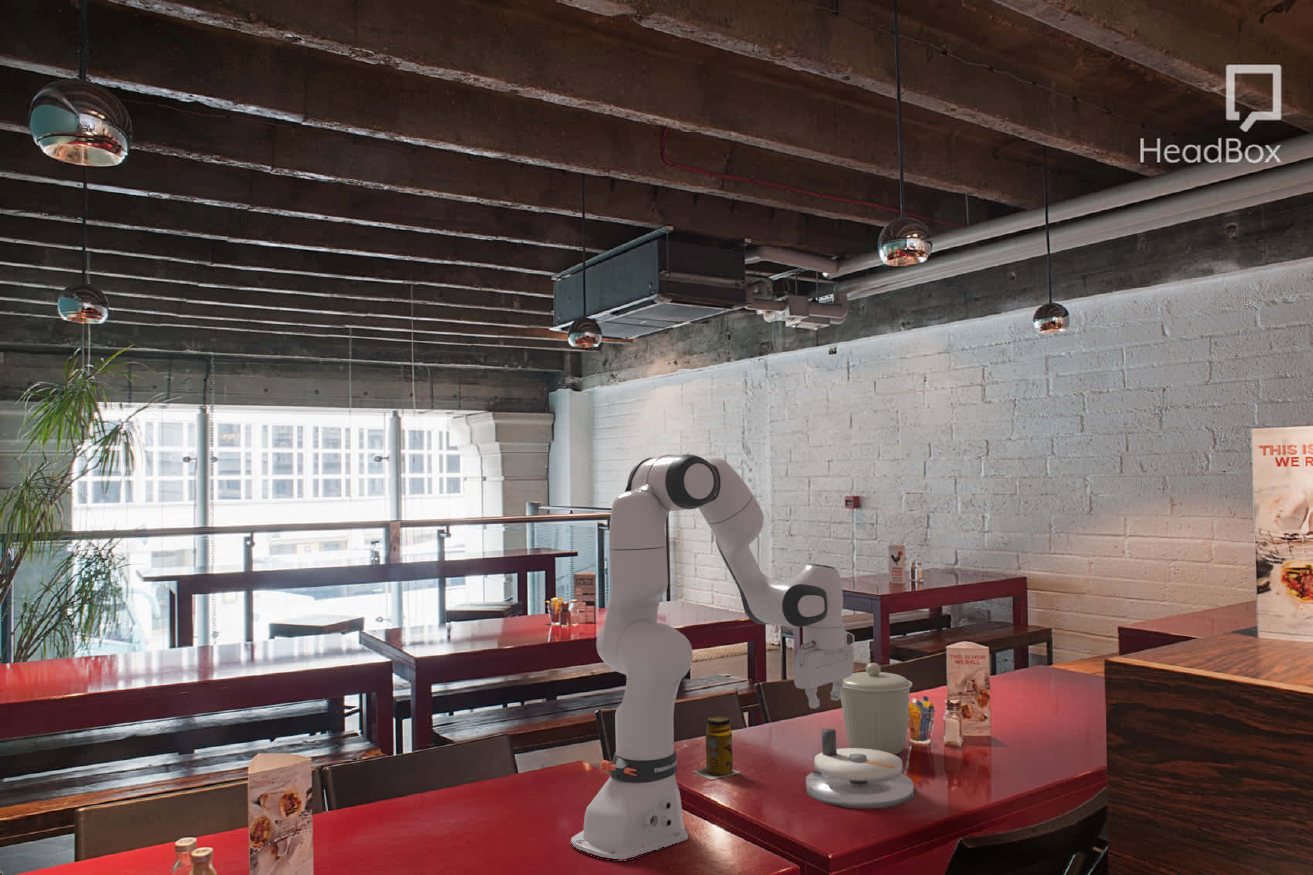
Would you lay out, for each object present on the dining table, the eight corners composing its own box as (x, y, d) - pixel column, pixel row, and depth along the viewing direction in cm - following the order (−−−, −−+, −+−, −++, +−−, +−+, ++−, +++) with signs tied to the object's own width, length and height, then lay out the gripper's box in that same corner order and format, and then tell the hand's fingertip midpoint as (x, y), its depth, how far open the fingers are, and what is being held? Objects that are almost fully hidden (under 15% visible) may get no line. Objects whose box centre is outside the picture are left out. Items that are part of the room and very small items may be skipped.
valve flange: (885, 816, 169) (883, 792, 169) (786, 794, 183) (785, 773, 183) (930, 786, 186) (929, 765, 186) (837, 768, 200) (836, 748, 200)
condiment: (740, 773, 198) (739, 719, 199) (711, 780, 194) (709, 725, 195) (721, 765, 205) (719, 713, 205) (691, 772, 200) (690, 718, 201)
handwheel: (918, 765, 185) (916, 733, 185) (873, 786, 172) (872, 752, 172) (844, 750, 197) (843, 720, 198) (797, 768, 184) (796, 737, 185)
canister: (876, 766, 200) (872, 672, 202) (823, 748, 216) (819, 662, 217) (931, 753, 210) (927, 663, 211) (877, 737, 225) (873, 654, 227)
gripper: (812, 646, 181) (813, 714, 180) (858, 634, 197) (860, 697, 195) (785, 643, 185) (787, 710, 184) (832, 632, 201) (834, 694, 199)
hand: (825, 703), depth 190 cm, fingers open, 8 cm apart
